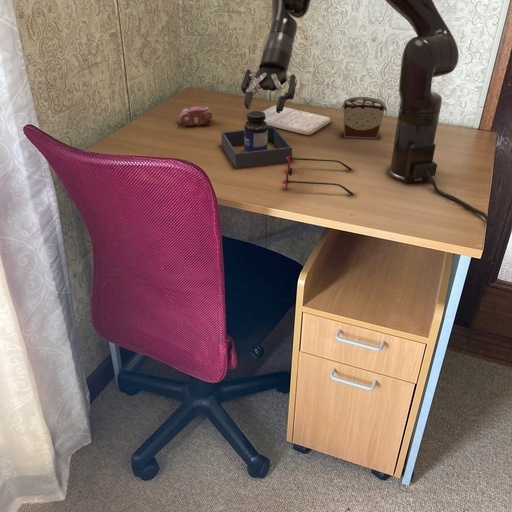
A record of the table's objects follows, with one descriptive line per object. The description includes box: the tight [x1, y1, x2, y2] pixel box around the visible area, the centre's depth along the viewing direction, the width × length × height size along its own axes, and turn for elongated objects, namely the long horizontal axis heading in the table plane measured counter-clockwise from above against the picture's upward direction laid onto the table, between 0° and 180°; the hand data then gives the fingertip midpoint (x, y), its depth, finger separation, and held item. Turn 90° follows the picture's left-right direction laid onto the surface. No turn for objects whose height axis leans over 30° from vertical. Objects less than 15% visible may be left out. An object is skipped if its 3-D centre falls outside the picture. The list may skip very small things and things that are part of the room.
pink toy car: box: [178, 105, 213, 126], centre depth 168 cm, size 10×5×7 cm, turn 105°
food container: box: [341, 96, 387, 140], centre depth 162 cm, size 12×6×10 cm, turn 84°
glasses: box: [282, 153, 354, 196], centre depth 138 cm, size 14×16×5 cm
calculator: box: [262, 105, 331, 136], centre depth 171 cm, size 13×20×2 cm, turn 56°
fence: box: [221, 126, 293, 169], centre depth 151 cm, size 15×15×4 cm
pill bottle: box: [243, 110, 269, 152], centre depth 149 cm, size 6×6×11 cm
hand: (262, 109), depth 150 cm, fingers open, 8 cm apart
